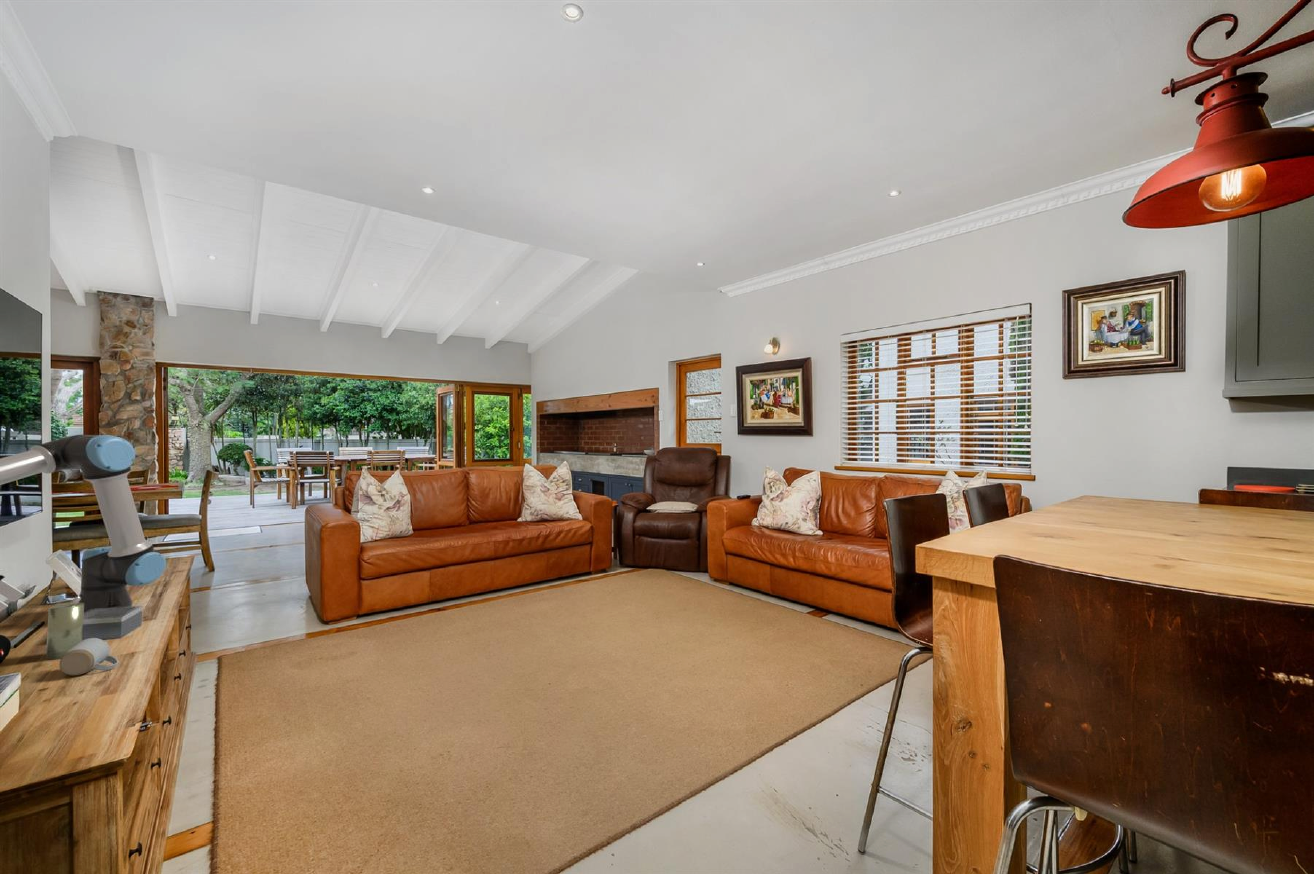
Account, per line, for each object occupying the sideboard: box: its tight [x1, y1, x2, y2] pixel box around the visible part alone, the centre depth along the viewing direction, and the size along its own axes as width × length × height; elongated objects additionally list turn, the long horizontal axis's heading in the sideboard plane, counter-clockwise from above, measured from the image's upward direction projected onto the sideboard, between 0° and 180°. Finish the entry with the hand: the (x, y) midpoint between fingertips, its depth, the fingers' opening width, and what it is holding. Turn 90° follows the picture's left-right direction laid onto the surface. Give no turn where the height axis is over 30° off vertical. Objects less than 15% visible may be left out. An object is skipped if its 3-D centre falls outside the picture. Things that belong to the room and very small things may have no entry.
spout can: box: [45, 595, 84, 661], centre depth 159 cm, size 7×7×16 cm
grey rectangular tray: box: [82, 605, 143, 641], centre depth 178 cm, size 16×13×6 cm
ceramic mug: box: [58, 638, 119, 676], centre depth 149 cm, size 11×8×8 cm
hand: (11, 604), depth 153 cm, fingers open, 13 cm apart
